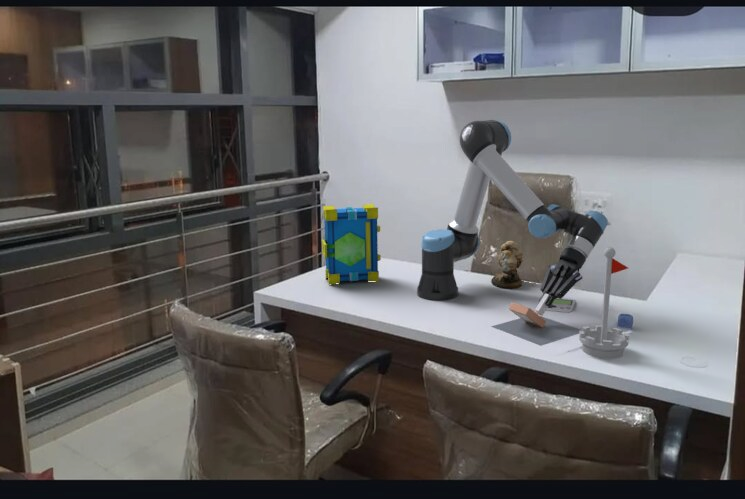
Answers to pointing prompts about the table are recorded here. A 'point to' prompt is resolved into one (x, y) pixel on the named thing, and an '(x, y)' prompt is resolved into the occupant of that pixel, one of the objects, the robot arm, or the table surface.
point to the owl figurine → (508, 266)
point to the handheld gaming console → (562, 305)
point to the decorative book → (351, 243)
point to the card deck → (527, 314)
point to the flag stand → (605, 321)
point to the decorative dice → (625, 321)
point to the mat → (538, 330)
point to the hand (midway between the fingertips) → (538, 312)
